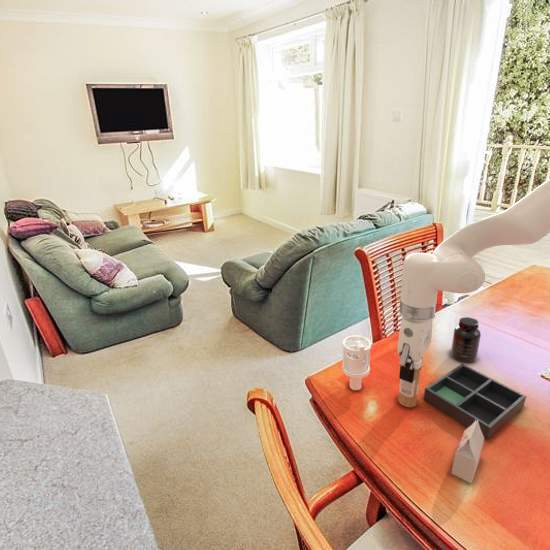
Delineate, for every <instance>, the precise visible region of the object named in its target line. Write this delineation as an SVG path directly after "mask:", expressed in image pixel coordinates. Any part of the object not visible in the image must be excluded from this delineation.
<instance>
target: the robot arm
mask: <svg viewBox="0 0 550 550" xmlns="http://www.w3.org/2000/svg"><path fill="white" fill-rule="evenodd" d="M549 234H550V178H549V179H547V180H545V181H544V182H542V183H541V184H540V185H539V186H537V187H536V188H535V189H533V190H532V191H531V192H529V193H528V194H526V195H525V196H524V197H522V198H520V200H518V201H517V202H516V203H514V204H512V205H511V206H510V207H509V208H507V209H505V210H504V211H502V212H499V213H496V214H493V215H490V216H487V217H485V218H481V219H479V220H477V221H474V222H471V223H469V224H467V225H465V226H463V227H462V228H459V230H457V231H455V232H454V233H452V235H450V236H448V238H446V239H444V240H443V241H442V242H441V243H440V244H438V246H437V247H436V248H434V250H433V251H432V253H427V252H413V253H410V254H408V255H407V256H405V257H404V260H403V266H402V274H401V275H402V277H401V287H400V300H399V311H398V314H399V315H400V317H401V322H400V327H399V333H398V339H397V340H398V341H397V355H398V356H399V357H400V359H399V362H398V365H399V374H398V375H399V376H398V377H399V380H400V379H402V380H405V381H407V382H410V383H412V382H413V380H414V371H415V368H413V367H414V362H418V361H419V360H420V359H422V360H423V357H424V355H425V354H426V352H427V351H428V349H429V348H430V345H431V343H432V335H433V320H434V318H436V308H437V302H438V294H439V292H440V291H441V292H447V293H451V294H452V293H453V294H469V293H470V294H471V293H473V292H476V291H478V290H479V289H481V287H482V286H483V285H484V284H485V280H486V273H485V269H484V268H483V267H482V265H481V264H479V262H477V261H476V260H475V259H474V258H473V257H475V256H476V255H478V254H480V253H481V252H483V251H485V250H487V249H490V248H494V247H499V246H520V245H522V246H523V245H533V244H535V243H538V242H539V241H540V240H543V239H544V238H545V237H546V236H548V235H549ZM409 354H410V355H409ZM407 359H411V363H409V362H407ZM421 370H422V367H421V368H420V371H421Z"/></svg>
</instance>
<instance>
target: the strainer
mask: <svg viewBox="0 0 550 550" xmlns="http://www.w3.org/2000/svg"><path fill="white" fill-rule="evenodd" d="M350 341H351V342H352V341H355V344H356V345H350V346H349V345H348V344H347V343H348V342H350ZM363 342H364V343H365V344H366V346H365V345H364V344H363ZM346 344H347V345H346ZM371 350H372V342H371V340H370V339H369V338H367V337H365V336H363V335H359V334H358V335H356V334H355V335H354V334H353V335H349V336H346V337H344V338H343V340H342V365H341V367H342V369H341V370H342V373H344V375H346V376H347V377H349V388H350V389H351V390H352V391H359V390H361V389H362V379H363V378H366V377H368V375H370V372H371Z"/></svg>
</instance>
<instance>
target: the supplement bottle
mask: <svg viewBox="0 0 550 550" xmlns="http://www.w3.org/2000/svg"><path fill="white" fill-rule="evenodd" d="M480 341H481V331H480V329H479V321H478V320H477V319H476V318H474V317H470V316H462V317H461V318H459V323H458V325H457V326H455V328H454V330H453V335H452V341H451V349H450V354H451V355H450V356H452V358H453V359H455V360H456V361H459V362H462V363H467V364H468V363H472V362H475V361H476V360H477V357H478V352H479V348H480Z"/></svg>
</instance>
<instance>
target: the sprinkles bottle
mask: <svg viewBox="0 0 550 550" xmlns="http://www.w3.org/2000/svg"><path fill="white" fill-rule="evenodd" d="M409 355H410V354H409ZM407 362H409V363H411V359H407ZM422 363H423V358H422V359H420V360H419V361H418V362H414V367H413V368H415V371H414V380H413V382H412V383H410V382H407V381H405V380H402V379H400V378H399V387H398V390H399V391H398V397H397V400H398V403H399V404H400V405H401V406H403V407H405V408H414V407H416V405H417V404H418V394H419V386H420V385H419V384H420V376H421V375H420V373H421V370H420V368H421V369H422V365H423V364H422Z"/></svg>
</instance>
